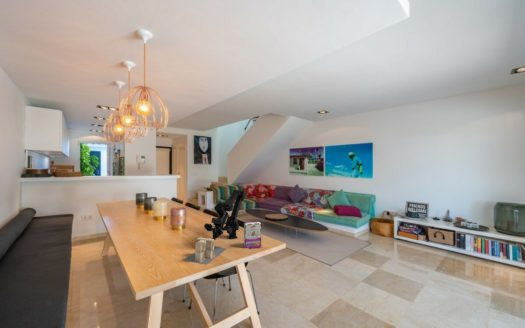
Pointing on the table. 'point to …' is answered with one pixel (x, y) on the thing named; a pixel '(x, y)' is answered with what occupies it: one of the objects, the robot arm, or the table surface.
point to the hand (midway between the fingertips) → (213, 240)
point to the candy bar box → (252, 235)
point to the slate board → (207, 260)
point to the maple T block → (204, 249)
